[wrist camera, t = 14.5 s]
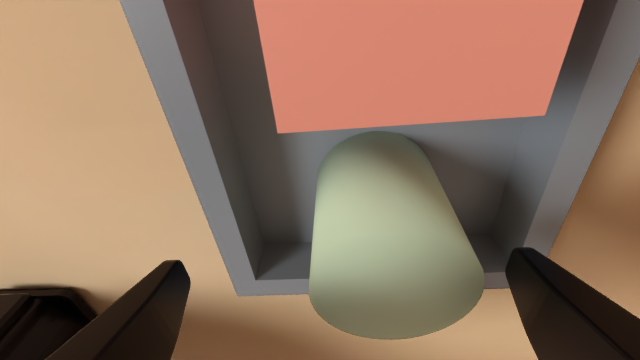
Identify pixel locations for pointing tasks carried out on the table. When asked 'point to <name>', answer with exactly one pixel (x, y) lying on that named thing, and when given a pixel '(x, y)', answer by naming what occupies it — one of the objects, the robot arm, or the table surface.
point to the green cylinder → (388, 242)
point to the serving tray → (311, 147)
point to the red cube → (411, 60)
